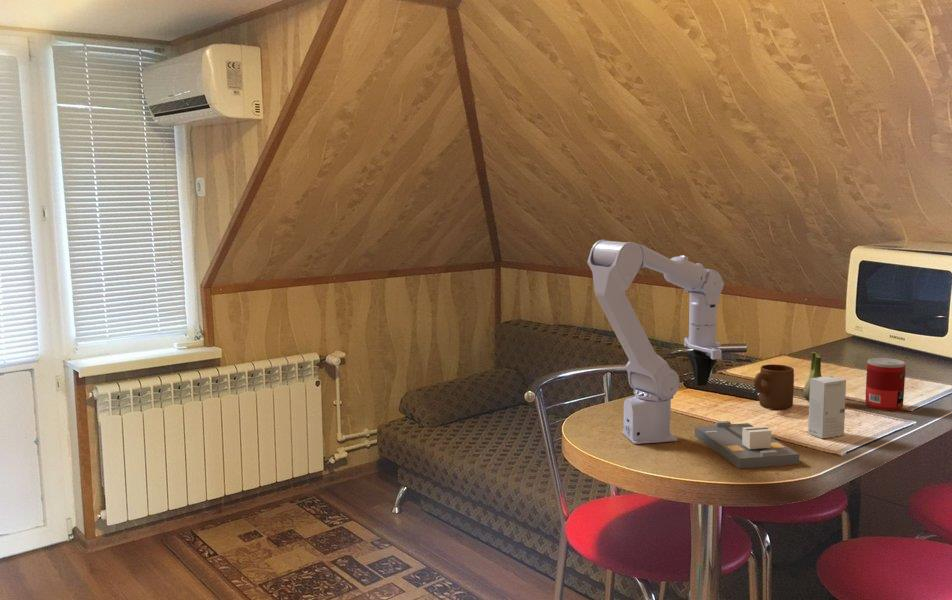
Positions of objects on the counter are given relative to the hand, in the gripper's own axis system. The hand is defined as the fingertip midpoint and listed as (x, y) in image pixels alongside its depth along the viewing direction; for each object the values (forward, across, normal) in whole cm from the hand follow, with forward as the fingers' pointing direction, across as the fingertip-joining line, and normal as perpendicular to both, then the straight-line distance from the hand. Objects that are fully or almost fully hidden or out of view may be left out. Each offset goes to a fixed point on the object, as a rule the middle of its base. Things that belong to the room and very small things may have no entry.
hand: (701, 384), depth 173 cm
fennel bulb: (+10, +13, -35) cm, 39 cm away
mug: (+10, +10, -22) cm, 26 cm away
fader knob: (+7, -21, -2) cm, 22 cm away
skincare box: (+10, -11, -23) cm, 27 cm away
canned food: (+10, +5, -48) cm, 49 cm away
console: (+9, -16, -2) cm, 19 cm away
